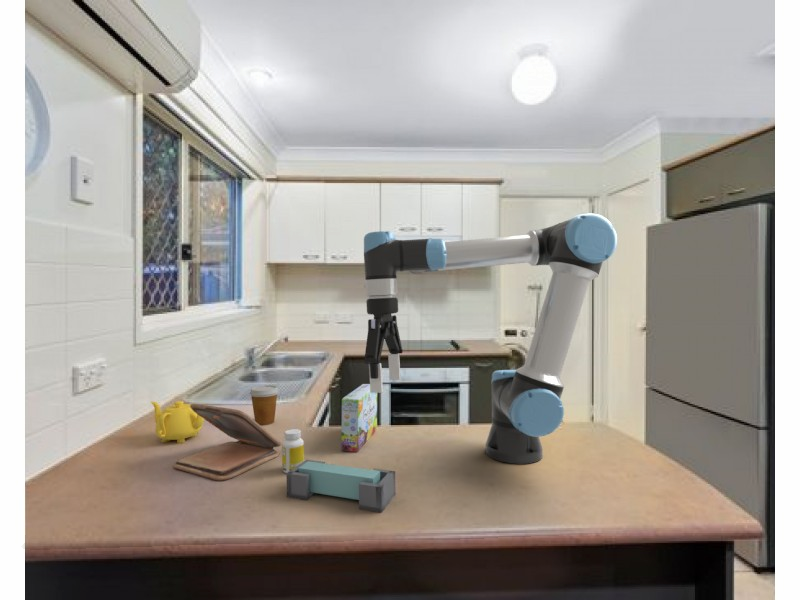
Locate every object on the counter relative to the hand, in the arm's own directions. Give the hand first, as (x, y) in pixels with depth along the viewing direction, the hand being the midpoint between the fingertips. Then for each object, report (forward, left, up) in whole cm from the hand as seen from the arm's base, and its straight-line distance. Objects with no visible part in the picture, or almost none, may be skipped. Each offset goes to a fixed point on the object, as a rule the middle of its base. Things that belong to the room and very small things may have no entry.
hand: (386, 385), depth 106 cm
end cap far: (+15, +12, -22) cm, 29 cm away
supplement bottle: (+24, +3, -23) cm, 33 cm away
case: (+44, +3, -23) cm, 50 cm away
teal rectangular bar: (+7, +12, -22) cm, 26 cm away
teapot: (+71, -6, -23) cm, 75 cm away
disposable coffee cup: (+56, -29, -23) cm, 67 cm away
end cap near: (-2, +12, -22) cm, 25 cm away
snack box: (+17, -23, -23) cm, 37 cm away
